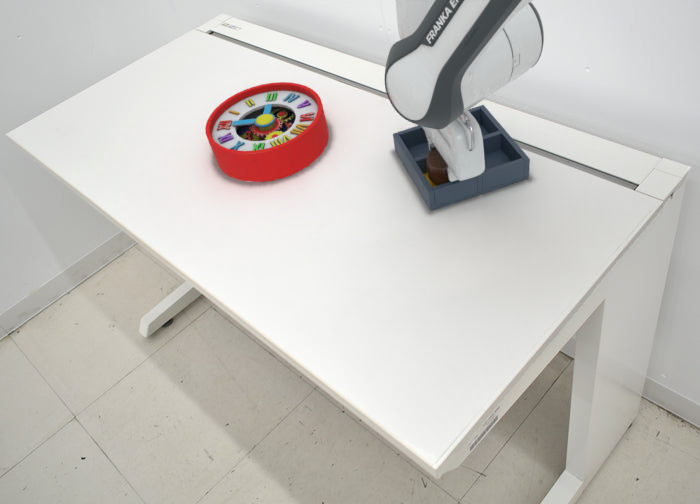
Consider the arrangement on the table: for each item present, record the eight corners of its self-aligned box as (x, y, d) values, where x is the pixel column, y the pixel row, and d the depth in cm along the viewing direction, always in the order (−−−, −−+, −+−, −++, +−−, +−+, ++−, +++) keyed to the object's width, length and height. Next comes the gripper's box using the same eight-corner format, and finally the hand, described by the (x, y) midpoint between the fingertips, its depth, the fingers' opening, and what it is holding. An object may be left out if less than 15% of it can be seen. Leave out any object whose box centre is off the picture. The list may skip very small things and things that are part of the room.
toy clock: (315, 147, 93) (192, 159, 96) (323, 176, 97) (204, 187, 100) (327, 76, 106) (219, 88, 109) (333, 104, 110) (229, 115, 114)
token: (454, 158, 91) (453, 142, 89) (468, 178, 87) (467, 162, 85) (422, 168, 90) (421, 153, 88) (435, 189, 87) (434, 173, 85)
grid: (483, 123, 99) (483, 104, 97) (528, 178, 89) (530, 159, 86) (395, 151, 98) (392, 133, 96) (430, 211, 88) (428, 192, 85)
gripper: (498, 115, 71) (497, 202, 81) (432, 40, 85) (438, 121, 95) (447, 131, 70) (452, 216, 80) (390, 53, 84) (400, 133, 94)
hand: (444, 164), depth 88 cm, fingers closed on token, 5 cm apart
